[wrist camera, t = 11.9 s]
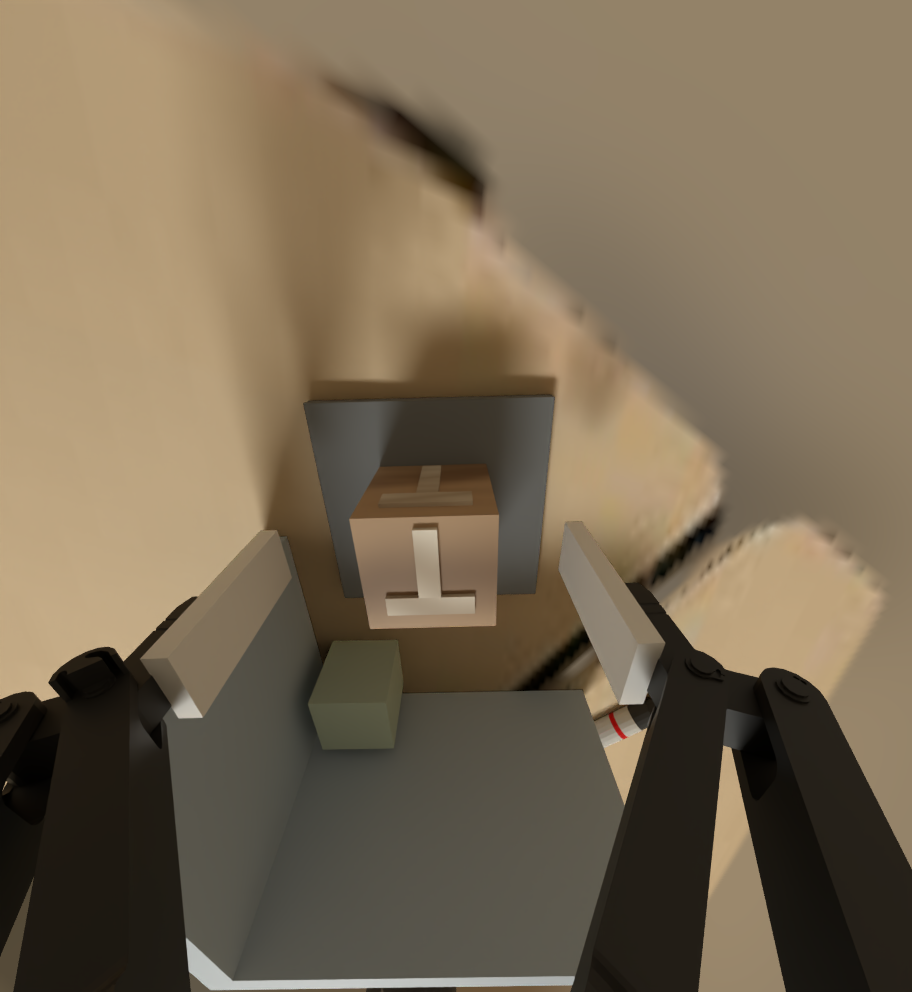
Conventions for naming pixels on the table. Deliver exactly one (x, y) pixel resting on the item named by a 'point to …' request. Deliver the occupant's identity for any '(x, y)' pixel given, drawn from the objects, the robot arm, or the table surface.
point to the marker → (624, 722)
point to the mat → (438, 441)
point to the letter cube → (428, 547)
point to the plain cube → (358, 695)
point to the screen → (386, 832)
